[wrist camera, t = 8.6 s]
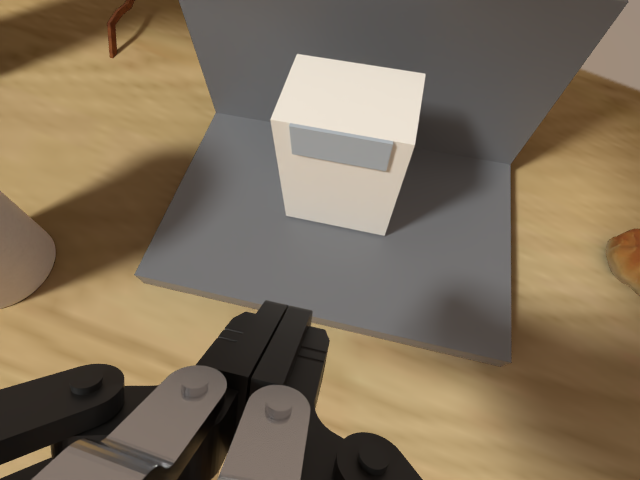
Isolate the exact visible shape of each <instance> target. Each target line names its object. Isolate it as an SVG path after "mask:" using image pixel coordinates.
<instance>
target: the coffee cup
mask: <svg viewBox="0 0 640 480" xmlns="http://www.w3.org/2000/svg"><path fill="white" fill-rule="evenodd" d="M55 256H56V249H55V244H54V241H53V239H52V238H51V236H50V235H49V234H48V233H47V232H46V231H45V230H44V229H43V228H41V227H40V226H39V225H38V224H37V223H36V222H35V221H34V220H32V219H31V218H30V217H29V216H28V215H27V214H26V213H25V212H23V211H22V210H21V209H20V208H19V207H18V206H17V205H16V204H15V203H13V202H12V201H11V200H10V199H9V198H8V197H7V196H6V195H4V194H3V193H2V192H1V191H0V309H1V308H5V307H8V306H11V305H13V304H15V303H18V302H19V301H21V300H23V299H25V298H26V297H28V296H29V295H30V294H32V293H33V292H34V291H35V290H36V289H37V288H38V287H39V286H40V285H41V284H42V283H43V282H44V281H45V279H46V278H47V277H48V275H49V273H50V271H51V269H52V267H53V265H54V261H55Z"/></svg>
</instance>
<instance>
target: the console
mask: <svg viewBox="0 0 640 480" xmlns="http://www.w3.org/2000/svg"><path fill="white" fill-rule="evenodd" d="M179 3H180V6H181V9H182V12H183V15H184V18H185V21H186V24H187V27H188V30H189V33H190V36H191V39H192V42H193V45H194V48H195V51H196V54H197V57H198V60H199V63H200V66H201V69H202V72H203V75H204V78H205V81H206V84H207V87H208V90H209V93H210V96H211V99H212V102H213V105H214V108H215V111H216V114H215V116H214V118H213V120H212V122H211V124H210V126H209V128H208V130H207V132H206V134H205V136H204V138H203V140H202V142H201V144H200V146H199V148H198V149H197V151H196V153H195V155H194V157H193V159H192V161H191V163H190V165H189V167H188V169H187V171H186V173H185V175H184V177H183V179H182V181H181V183H180V185H179V187H178V189H177V191H176V193H175V195H174V197H173V199H172V201H171V203H170V205H169V207H168V209H167V211H166V213H165V215H164V217H163V219H162V221H161V223H160V225H159V227H158V229H157V231H156V233H155V235H154V237H153V239H152V241H151V243H150V245H149V247H148V249H147V251H146V253H145V255H144V257H143V259H142V261H141V263H140V265H139V267H138V269H137V271H136V273H135V274H134V275H135V276H136V277H137V278H139V279H140V280H141V281H142V282H144V283H146V284H151V285H155V286H159V287H163V288H168V289H172V290H176V291H180V292H185V293H189V294H193V295H197V296H202V297H206V298H210V299H215V300H219V301H223V302H227V303H232V304H236V305H240V306H244V307H249V308H253V309H257V310H259V309H260V307H261V306H262V304H263V303H264V301H265V300H268V301H272V302H277V303H281V304H286V305H289V306H290V305H291V306H295V307H300V308H304V309H309V310H312V311H313V313H312V320H311V322H312V323H317V324H321V325H325V326H330V327H334V328H338V329H342V330H347V331H351V332H355V333H359V334H364V335H368V336H372V337H376V338H381V339H385V340H389V341H393V342H398V343H402V344H406V345H410V346H415V347H419V348H423V349H428V350H432V351H436V352H440V353H445V354H449V355H453V356H457V357H462V358H466V359H470V360H474V361H479V362H483V363H487V364H491V365H496V366H503V365H506V364H509V363H511V182H510V164H511V163H512V162H513V160H514V159H515V157H516V156H517V155H518V153H519V152H520V151H521V149H522V148H523V146H524V145H525V144H526V142H527V141H528V140H529V138H530V137H531V135H532V134H533V133H534V131H535V130H536V129H537V127H538V126H539V124H540V123H541V122H542V120H543V119H544V117H545V116H546V115H547V113H548V112H549V111H550V109H551V108H552V106H553V105H554V104H555V102H556V101H557V100H558V98H559V97H560V95H561V94H562V93H563V91H564V90H565V89H566V87H567V86H568V84H569V83H570V82H571V80H572V79H573V77H574V76H575V75H576V73H577V72H578V71H579V69H580V68H581V66H582V65H583V64H584V62H585V61H586V59H587V58H588V57H589V55H590V54H591V53H592V51H593V50H594V48H595V47H596V46H597V44H598V43H599V42H600V40H601V39H602V37H603V36H604V35H605V33H606V32H607V30H608V29H609V28H610V26H611V25H612V24H613V22H614V21H615V20H616V18H617V17H618V15H619V14H620V13H621V11H622V10H623V9H624V7H625V6H626V4H627V3H628V0H179ZM297 54H301V55H308V56H314V57H321V58H327V59H334V60H340V61H347V62H353V63H360V64H366V65H373V66H379V67H386V68H392V69H399V70H405V71H412V72H418V73H424V74H426V75H425V82H424V89H423V95H422V102H421V109H420V115H419V122H418V128H417V135H416V142H415V146H414V149H413V152H412V155H411V158H410V161H409V164H408V167H407V170H406V173H405V176H404V179H403V182H402V185H401V188H400V191H399V194H398V197H397V200H396V203H395V206H394V209H393V212H392V215H391V218H390V221H389V224H388V227H387V230H386V233H385V236H383V235H378V234H373V233H369V232H364V231H359V230H354V229H349V228H344V227H339V226H334V225H329V224H324V223H320V222H315V221H310V220H305V219H300V218H295V217H290V216H286V212H285V206H284V200H283V194H282V188H281V182H280V176H279V170H278V163H277V157H276V151H275V145H274V139H273V133H272V127H271V121H270V119H271V117H272V114H273V112H274V109H275V107H276V104H277V102H278V99H279V97H280V94H281V92H282V90H283V87H284V85H285V82H286V80H287V77H288V75H289V72H290V70H291V67H292V65H293V62H294V60H295V57H296V55H297Z"/></svg>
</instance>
